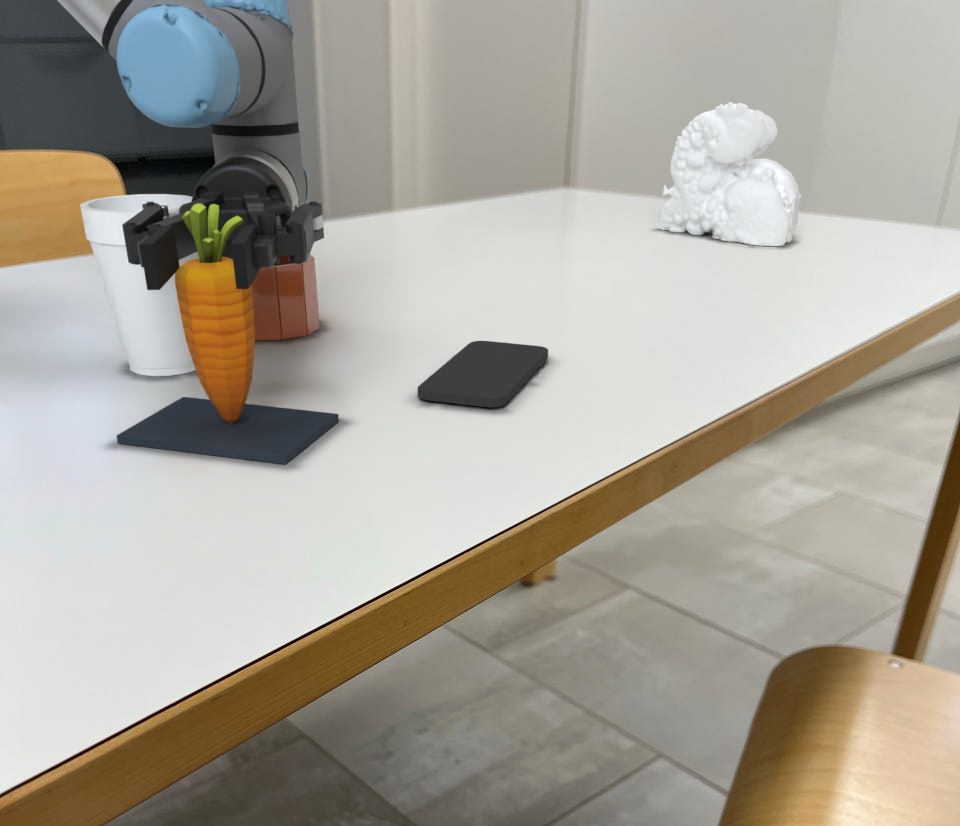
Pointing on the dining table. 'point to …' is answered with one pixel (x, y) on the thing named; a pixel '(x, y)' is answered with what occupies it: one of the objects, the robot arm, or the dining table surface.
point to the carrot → (216, 314)
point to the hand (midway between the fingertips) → (195, 266)
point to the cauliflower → (730, 180)
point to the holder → (285, 300)
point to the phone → (484, 374)
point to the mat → (230, 430)
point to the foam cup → (138, 288)
